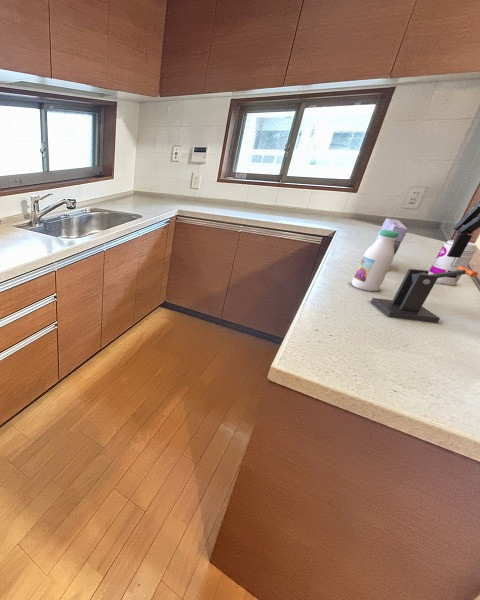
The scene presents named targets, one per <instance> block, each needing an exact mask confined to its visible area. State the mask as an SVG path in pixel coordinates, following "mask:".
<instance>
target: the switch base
mask: <svg viewBox="0 0 480 600" xmlns="http://www.w3.org/2000/svg"><path fill="white" fill-rule="evenodd" d="M423 272H425V273H427V274H417V276H416V278H415V280H414V281H413V282H412V274H416V273H423ZM428 272H429V270H427V269H416V268H408V270H406V273H405V274H404V277H403V279H402V281H401V283H400V285H399V287H398V289H397V290H396V293H395V295H394V296H393V298H392V299H386V298H378V297H372V298H371V301H370V303H371V304H373V305H374V306H375V307H376V308H378V309H379V311H381V312H382V313H383V314H384V315H386V316H387V317H390V318H396V319H405V320H413V321H418V322H419V321H421V322H428V323H435V324H437V323H439V321H441V320H440V319H441V318H440V317H439V316H437V315H436V314H435V313H433V312H432V311H430V310H428V309H427V308H425V307H424V306H423V305H424V303H425V302H426V300H427V298H428V296H429V295H430V293H431V291H432V290H433V288H434V286H435V285H436V283H435V282H436V280H437V279H438V276H437V275H428Z"/></svg>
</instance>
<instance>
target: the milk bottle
mask: <svg viewBox="0 0 480 600" xmlns="http://www.w3.org/2000/svg"><path fill="white" fill-rule="evenodd" d="M398 235H399V232H396V231H391V230H381V232H380V234H379V238H378V240H377V241H376V242H375V241H374V242H375V243H374V242H373V243H372V245H370V246H369V247H368V248H367V249H366V251H365V252H364V254H363V256H362V259H361V261H360V262H359V265H358V267H357V268H356V269H357V270H356V271H355V274H354V276H353V278H352V281H351V285H352V286H353V287H354V288H357V289H360V290H363V291H368V292H377V291H379V290H380V288H381V286H382V285H383V282H384V280H385V278H386V276H387V274H388V272H389V270H390V268H391V266H392V263H393V262H394V261H393V260H394V258H395V256H394V241H395V240H396V239H397V237H398Z"/></svg>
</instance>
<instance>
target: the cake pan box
mask: <svg viewBox="0 0 480 600" xmlns="http://www.w3.org/2000/svg"><path fill="white" fill-rule="evenodd" d="M381 230H391V231H396V232H399V235H398V237H397V239H396V240H395V241H394V257H395V255H396V254H397V252H398V250H399V248H400V247H401V244H402V242H403V241H404V239H405V237H406V235H407V233H408V231H409V229H408V228H407V227H406V225H404V224H403V223H402V222H401V221H400V220H399V219H393V218H389V217H388V218H387V217H386V218H385V219H384V222H383V224H382V226H381V227H380V229H379V232H378V234H377V235H376V238H375V239H374V241H373V244H374V243H375V242H376V241H377V240H378V238H379V234H380V232H381Z"/></svg>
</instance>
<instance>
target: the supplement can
mask: <svg viewBox="0 0 480 600" xmlns="http://www.w3.org/2000/svg"><path fill="white" fill-rule="evenodd" d="M454 240H455V239H448V240H447V241H446V242H444V243H443V245H442V246H441V249H440V250H439V252H438V254H437V256H436V258H435V259H434V261H433V263H432V265H431V267H430V268H429V270H428V271H429V272H428V274H429V275H430V274H437V273H444V272H450V271H457V268H458V267H459V266H463V267H466V268H468V266H469V264H470V262H471V260H473V257H474V255H475V254H476V252H477V250H478V249H477V248H478V247H477V245H478V244H476V243H473V242H470V241H469V242H468V244H467V246H466V248H465V250H464V251H463V253H462V255H461V257H460V258H458V257H448V256H447V255H448V253H449V251H450V249H451V247H452V245H453V242H454ZM461 277H462V275H456V276H449V277H442V278H438V279H437V280H436V282H435V284H438V285H443V286H454V285H456V284H458V283H459V280H460V279H461Z"/></svg>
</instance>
